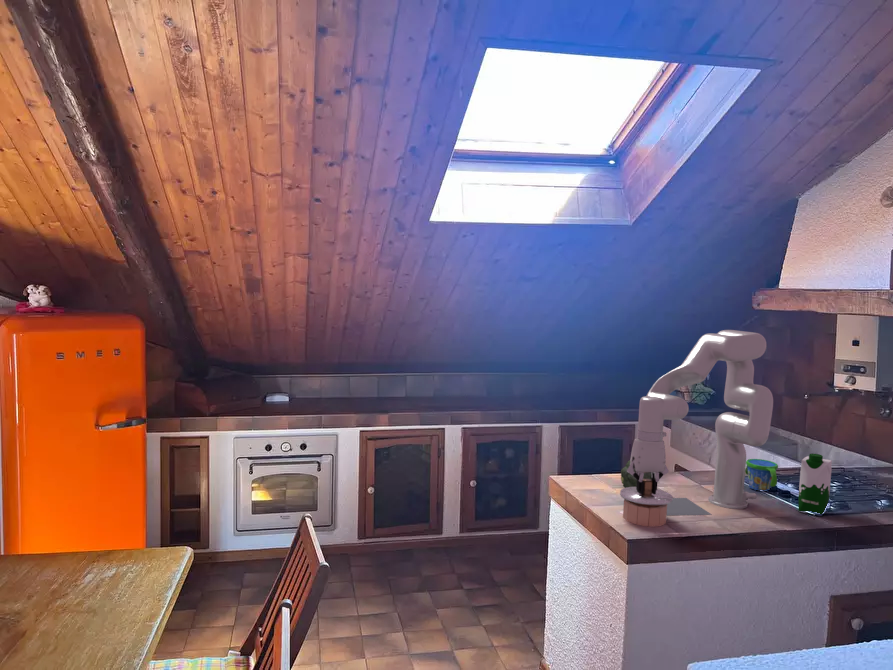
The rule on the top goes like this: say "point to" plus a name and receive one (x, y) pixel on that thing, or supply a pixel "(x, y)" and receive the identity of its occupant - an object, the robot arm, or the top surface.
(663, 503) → the lid
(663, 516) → the bowl
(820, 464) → the milk carton
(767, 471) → the snack cup
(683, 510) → the mat
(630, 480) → the vegetable
